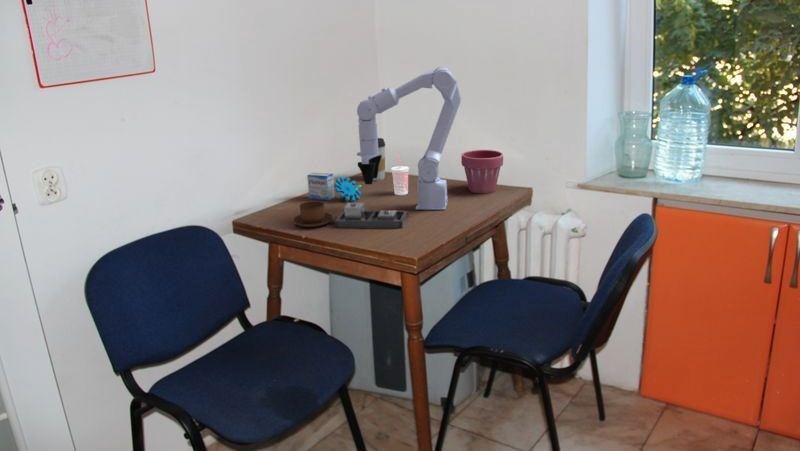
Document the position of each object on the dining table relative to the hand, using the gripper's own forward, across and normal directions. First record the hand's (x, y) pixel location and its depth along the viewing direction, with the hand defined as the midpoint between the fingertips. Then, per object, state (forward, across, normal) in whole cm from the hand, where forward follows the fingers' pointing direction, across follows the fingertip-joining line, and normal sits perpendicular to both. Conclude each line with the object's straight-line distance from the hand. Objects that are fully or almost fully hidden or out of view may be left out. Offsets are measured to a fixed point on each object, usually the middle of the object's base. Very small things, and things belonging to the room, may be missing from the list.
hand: (371, 181), depth 216 cm
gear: (+10, -12, -11) cm, 19 cm away
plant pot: (+10, -23, +34) cm, 42 cm away
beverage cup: (+10, -19, +6) cm, 22 cm away
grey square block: (+10, +14, -3) cm, 17 cm away
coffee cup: (+10, -39, -7) cm, 41 cm away
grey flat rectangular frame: (+9, +14, +2) cm, 17 cm away
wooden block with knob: (+9, +14, +7) cm, 18 cm away
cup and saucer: (+10, +15, -16) cm, 24 cm away
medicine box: (+10, -13, -21) cm, 27 cm away
